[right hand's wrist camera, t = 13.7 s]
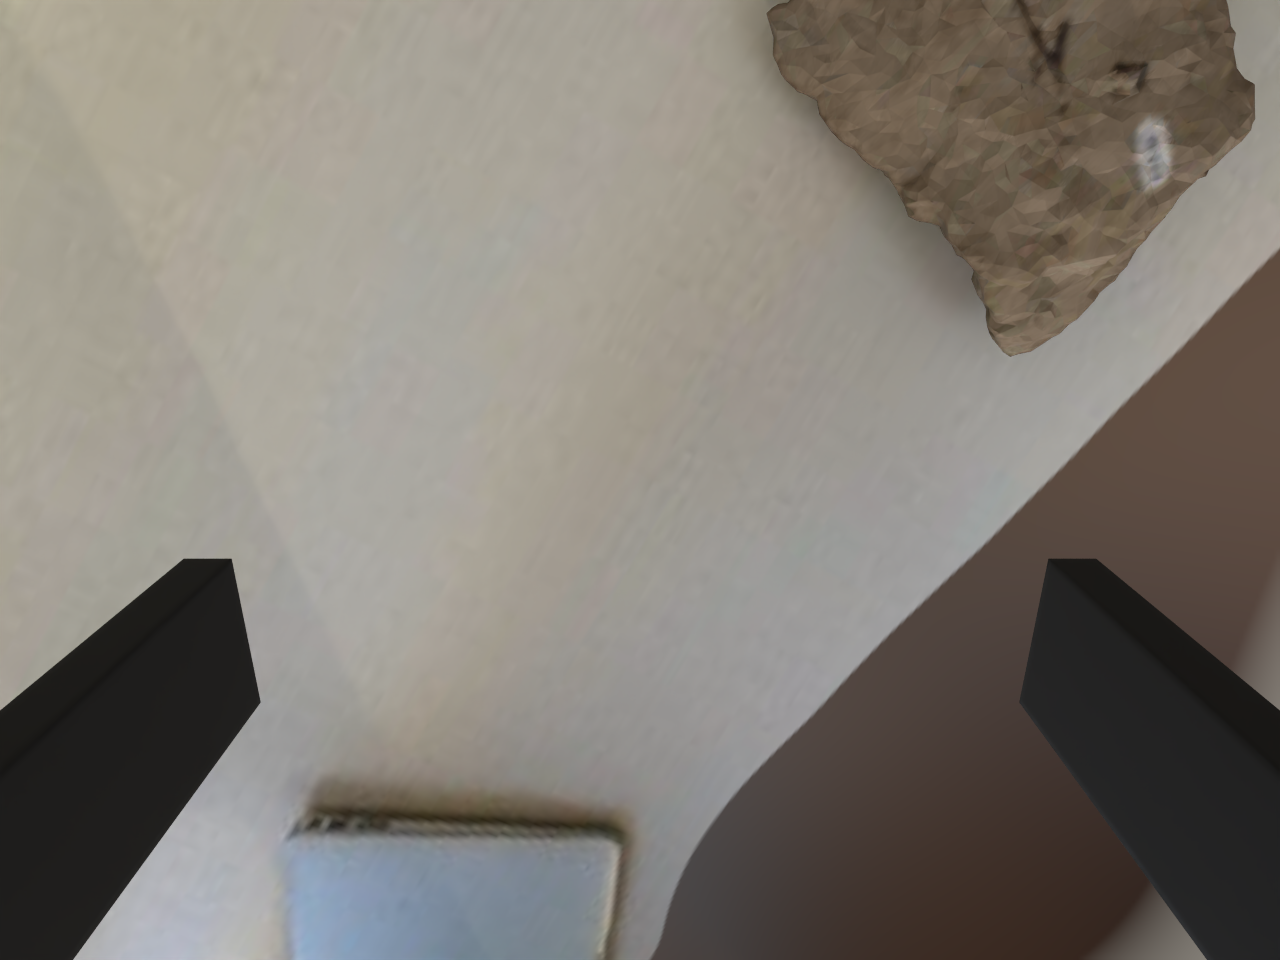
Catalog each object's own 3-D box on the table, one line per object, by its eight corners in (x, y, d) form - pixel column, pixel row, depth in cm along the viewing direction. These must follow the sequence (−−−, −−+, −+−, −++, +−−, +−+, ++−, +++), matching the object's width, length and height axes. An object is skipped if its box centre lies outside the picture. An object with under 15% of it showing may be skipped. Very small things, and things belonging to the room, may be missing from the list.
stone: (1298, 153, 37) (1368, 154, 31) (1006, 353, 43) (1023, 382, 38) (1022, -230, 34) (1047, -299, 29) (760, 44, 41) (741, 28, 36)
